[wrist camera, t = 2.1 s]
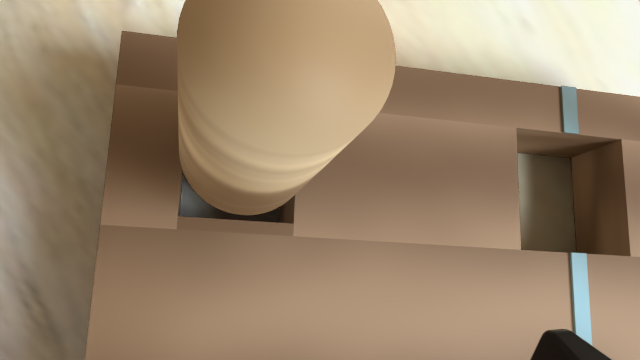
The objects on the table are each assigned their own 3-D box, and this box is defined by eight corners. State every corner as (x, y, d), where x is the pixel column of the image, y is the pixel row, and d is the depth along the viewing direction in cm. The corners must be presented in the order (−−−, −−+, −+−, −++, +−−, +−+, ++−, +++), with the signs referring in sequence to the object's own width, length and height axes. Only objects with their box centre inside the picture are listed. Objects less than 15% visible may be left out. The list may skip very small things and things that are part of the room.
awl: (281, 236, 21) (395, 163, 10) (175, 231, 21) (167, 142, 9) (286, 137, 22) (396, -37, 11) (183, 127, 21) (186, -72, 10)
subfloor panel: (638, 581, 22) (709, 625, 19) (69, 625, 18) (46, 690, 15) (604, 121, 26) (659, 98, 23) (129, 66, 21) (121, 29, 19)
